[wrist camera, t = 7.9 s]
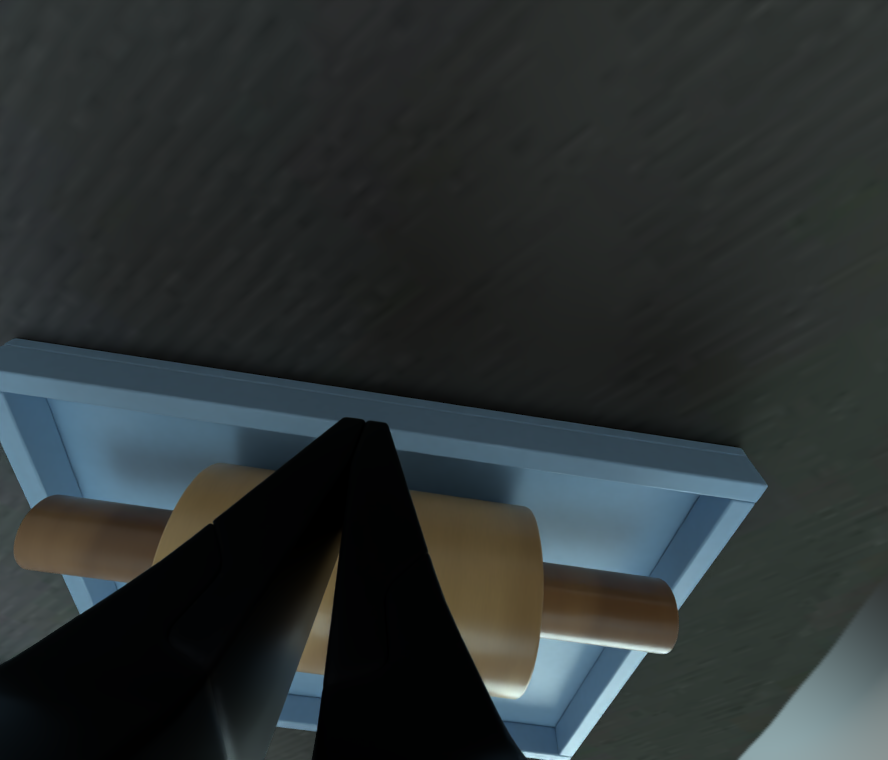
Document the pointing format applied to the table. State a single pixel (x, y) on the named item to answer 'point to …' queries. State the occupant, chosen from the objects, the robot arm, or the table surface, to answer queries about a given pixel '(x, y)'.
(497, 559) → the rolling pin
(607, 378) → the table surface
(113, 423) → the tray
